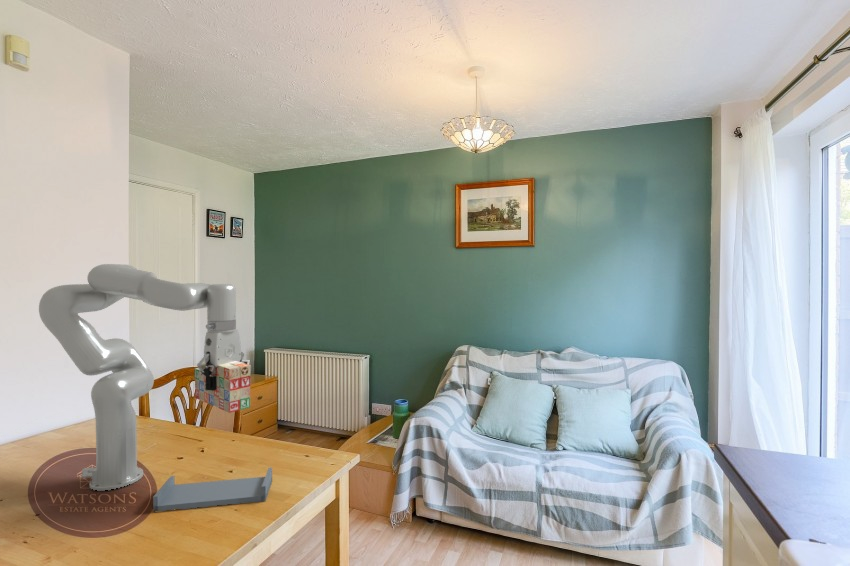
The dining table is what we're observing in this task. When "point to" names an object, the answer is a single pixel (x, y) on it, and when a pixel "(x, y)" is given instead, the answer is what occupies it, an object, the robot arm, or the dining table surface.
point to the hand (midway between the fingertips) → (222, 385)
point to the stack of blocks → (226, 387)
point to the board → (211, 493)
